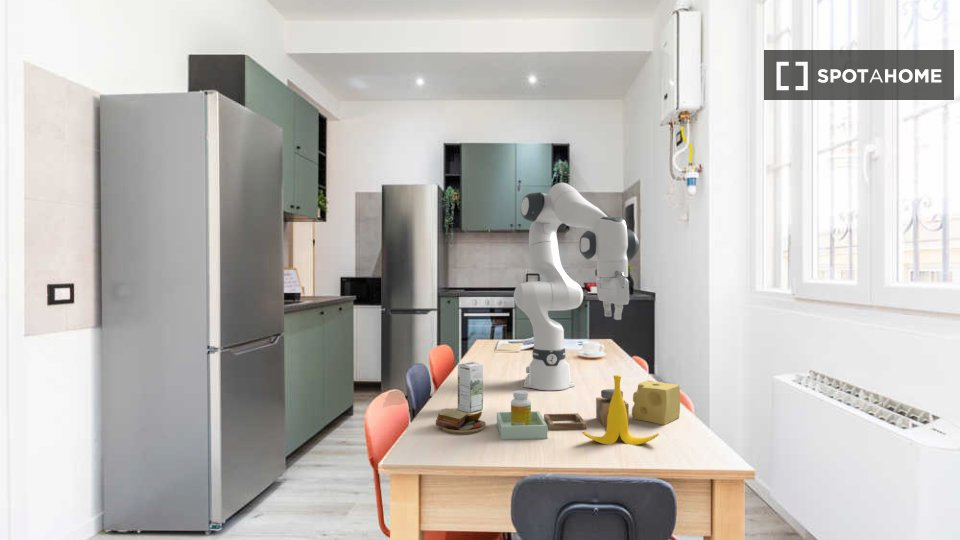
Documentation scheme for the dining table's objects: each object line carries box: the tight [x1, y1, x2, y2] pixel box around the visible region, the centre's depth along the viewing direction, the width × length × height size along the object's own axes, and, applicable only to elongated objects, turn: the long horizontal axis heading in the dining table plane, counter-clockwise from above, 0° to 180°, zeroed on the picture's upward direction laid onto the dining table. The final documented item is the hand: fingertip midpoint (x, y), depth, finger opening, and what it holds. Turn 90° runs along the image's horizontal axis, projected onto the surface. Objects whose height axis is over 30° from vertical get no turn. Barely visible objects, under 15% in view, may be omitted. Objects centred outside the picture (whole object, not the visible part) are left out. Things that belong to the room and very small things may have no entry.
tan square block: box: [595, 388, 630, 427], centre depth 155 cm, size 8×7×9 cm
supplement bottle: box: [510, 389, 532, 426], centre depth 147 cm, size 5×5×10 cm
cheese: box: [631, 380, 681, 426], centre depth 158 cm, size 10×11×10 cm
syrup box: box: [457, 361, 484, 414], centre depth 168 cm, size 6×6×14 cm
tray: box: [496, 410, 548, 441], centre depth 147 cm, size 14×12×3 cm
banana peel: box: [581, 374, 660, 446], centre depth 138 cm, size 17×19×17 cm
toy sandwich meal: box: [435, 408, 486, 435], centre depth 150 cm, size 12×14×5 cm
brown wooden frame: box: [543, 412, 588, 431], centre depth 153 cm, size 10×10×2 cm
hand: (612, 318), depth 160 cm, fingers open, 8 cm apart
